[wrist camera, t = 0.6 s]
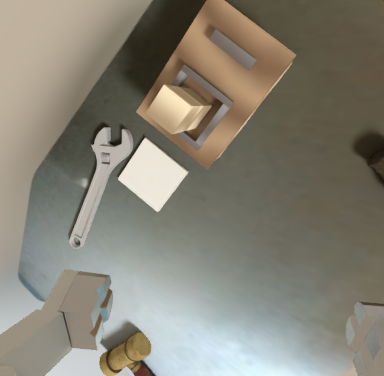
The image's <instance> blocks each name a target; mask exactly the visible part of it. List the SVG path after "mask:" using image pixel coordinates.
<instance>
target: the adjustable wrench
mask: <svg viewBox="0 0 384 376" xmlns="http://www.w3.org/2000/svg"><path fill="white" fill-rule="evenodd" d="M109 141H110V127H105V128H103V129H102V130H101V131H100V132H99V133H98V134H97V136H96V139H95V142H94V144H93V145H92V148H93V151H94V152H95V154H96V159H97V168H96V172H95V175H94V177H93V180H92V182H91V185H90V187H89V190H88V193H87V195H86V198H85V200H84V203H83V206H82V208H81V211H80V213H79V216H78V219H77V221H76V224H75V226H74V229H73V232H72V234H71V237H70V240H69V242H70V245H71V246H72V247H73V248H75V249H78V248H80V247H81V246H83V245H84V243H85V240H86V237H87V234H88V232H89V229H90V226H91V224H92V221H93V218H94V216H95V213H96V210H97V207H98V205H99V202H100V199H101V197H102V194H103V191H104V189H105V186H106V183H107V180H108V178H109V175H110V173H111V171H112V170H113V169H114V168H115V167H116V166H117V165H118V164H119V163H120V162H121V161H122V160H123V159H125V158H126V157H127V156H129V154H130V153H131V151H132V149H133V139H132V135H131V133H130V132H129V130H128V129H122V144H120V145H118V146H113V145H112V144H110V143H109ZM105 162H108V163H105ZM109 162H110V163H109ZM75 237H77V238H78V239H79V240H80V245H77V244H76V243H75V241H74V238H75Z"/></svg>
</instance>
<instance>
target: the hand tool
mask: <svg viewBox="0 0 384 376" xmlns="http://www.w3.org/2000/svg"><path fill="white" fill-rule="evenodd" d="M368 166H370V167H372V168H374V169H375V171H376V173H379V174H380V175H381V177H382V179H383V180H384V150H382V151H380V152H378V153H377V154H375V155H374V156H373V157H371V158H370V159H369V160H368Z"/></svg>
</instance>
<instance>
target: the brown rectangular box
mask: <svg viewBox="0 0 384 376" xmlns="http://www.w3.org/2000/svg"><path fill="white" fill-rule="evenodd" d="M295 57H296V54H294V53H293V52H292V51H290V50H289V49H288V48H286V47H285V46H284V45H282V44H281V43H280V42H278V41H277V40H276V39H274V38H273V37H272V36H271V35H269V34H268V33H267V32H265V31H264V30H263V29H261V28H260V27H259V26H257V25H256V24H255V23H253V22H252V21H251V20H249V19H248V18H247V17H245V16H244V15H243V14H242V13H240V12H239V11H238V10H236V9H235V8H234V7H232V6H231V5H230V4H228V3H227V2H226V1H224V0H206V2H205V4H204V5H203V7H202V8H201V10H200V11H199V13H198V15H197V16H196V18H195V19H194V21H193V23H192V24H191V26H190V27H189V29H188V31H187V32H186V34H185V35H184V37H183V39H182V40H181V42H180V43H179V45H178V47H177V48H176V50H175V51H174V53H173V54H172V56H171V58H170V59H169V61H168V62H167V64H166V66H165V67H164V69H163V70H162V72H161V74H160V75H159V77H158V78H157V80H156V82H155V83H154V85H153V86H152V88H151V90H150V91H149V93H148V94H147V96H146V98H145V99H144V101H143V102H142V104H141V105H140V107H139V109H138V110H137V113H138V114H139V115H140V116H142V117H143V118H144V119H145V120H147V121H148V122H149V123H150V124H152V125H153V126H154V127H155V128H157V129H158V130H159V131H160V132H162V133H163V134H164V135H165V136H167V137H168V138H169V139H170V140H171V141H173V142H174V143H175V144H176V145H178V146H179V147H180V148H181V149H183V150H184V151H185V152H186V153H188V154H189V155H190V156H191V157H193V158H194V159H195V160H196V161H197V162H199V163H200V164H201V165H202V166H204V167H205V168H206V169H209V168H210V167H211V165H212V164H213V163H214V161H215V160H216V159H218V158H219V157H220V156H221V154H222V153H223V152H224V151H225V149H226V148H227V147H228V145H229V144H230V143H231V141H232V140H233V139H234V138H235V136H236V135H237V134H238V132H239V131H240V130H241V129H242V127H243V126H244V125H245V123H246V122H247V121H248V120H249V118H250V117H251V116H252V114H253V113H254V112H255V111H256V109H257V108H258V107H259V105H260V104H261V103H262V102H263V100H264V99H265V98H266V96H267V95H268V94H269V93H270V91H271V90H272V89H273V87H274V86H275V85H276V84H277V82H278V81H279V80H280V78H281V77H282V76H283V75H284V73H285V72H286V71H287V69H288V68H289V67H290V66H291V64H292V61H293V60H294V58H295ZM163 85H171V86H177V87H184V88H191V89H192V90H194V91H195V92H196V93H197V94H199V95H200V96H201V97H202V98H204V99H205V100H206V101H208V102H209V103H210V104H211V105H213V106H212V107H211V109H210V110H209V112H208V113H207V114H206V116H205V117H204V118H203V120H202V121H201V123H200V124H199V125H198V127H197V128H195V129H191V130H187V131H184V132H180V133H176V134H170V133H169V132H168V131H167V130H165V129H164V128H163V127H162V126H160V125H159V124H158V123H157V122H155V121H154V120H153V119H152V118H151V117H149V116H148V115H147V114H146V112H147V110H148V109H149V107H150V106H151V104H152V102H153V101H154V99H155V98H156V96H157V95H158V93H159V92H160V90H161V88H162V87H163Z"/></svg>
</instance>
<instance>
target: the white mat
mask: <svg viewBox="0 0 384 376" xmlns="http://www.w3.org/2000/svg"><path fill="white" fill-rule="evenodd" d="M188 172H189V171H187V170H186V169H185V168H184V167H183V166H181V165H180V164H179V163H178V162H176V161H175V160H174V159H173V158H171V157H170V156H169V155H168V154H167V153H165V152H164V151H163V150H162V149H160V148H159V147H158V146H157V145H155V144H154V143H153V142H152V141H150V140H149V139H148V138H147V137H146V138H145V139H144V140H143V142H142V143H141V145H140V146H139V148H138V149H137V151H136V152H135V154H134V155H133V157H132V158H131V160H130V161H129V163H128V164H127V166H126V167H125V169H124V170H123V172H122V173H121V175H120V176H119V178H118V180H120V181H121V182H122V183H123V184H124V185H126V186H127V187H128V188H129V189H130V190H132V191H133V192H134V193H135V194H136V195H138V196H139V197H140V198H141V199H142V200H144V201H145V202H146V203H147V204H148V205H150V206H151V207H152V208H153V209H155V210H156V211H157V212H159V211H160V209H161V208H162V207H163V205H164V204H165V203H166V201H167V200H168V199H169V197H170V196H171V195H172V193H173V192H174V191H175V189H176V188H177V187H178V185H179V184H180V183H181V181H182V180H183V179H184V177H185V176H186V175H187V173H188Z"/></svg>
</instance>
